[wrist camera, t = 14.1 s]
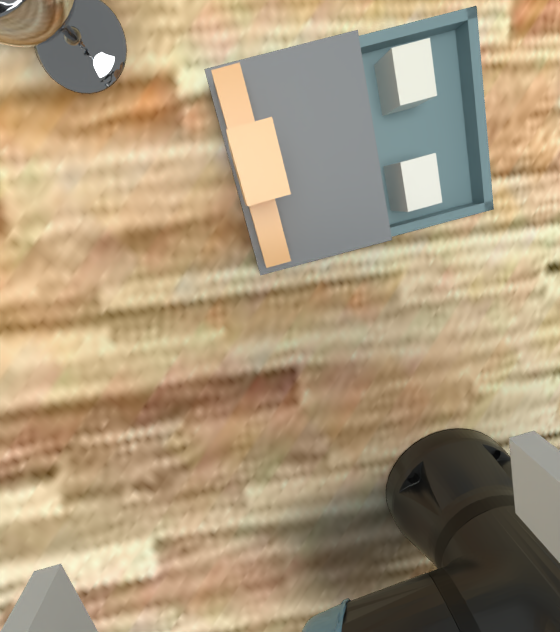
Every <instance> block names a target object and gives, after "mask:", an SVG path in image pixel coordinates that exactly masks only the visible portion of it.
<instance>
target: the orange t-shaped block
mask: <svg viewBox="0 0 560 632" xmlns="http://www.w3.org/2000/svg"><path fill="white" fill-rule="evenodd" d="M211 71H212V76H213V81H214V85H215V88H216V92H217V95H218V99H219V103H220V106H221V110H222V113H223V117H224V120H225V124H226V128H227V129H226V133H227V138H228V143H229V149H230V152H231V156H232V159H233V163H234V166H235V170H236V173H237V177H238V180H239V184H240V188H241V191H242V195H243V198H244V202H245V205H246V206H249V210H250V213H251V217H252V220H253V224H254V228H255V231H256V235H257V238H258V242H259V245H260V249H261V253H262V256H263V260H264V263H265V265H266V268H269V267H272V266H276V265H279V264H283V263H286V262H290V261H291V259H290V255H289V251H288V247H287V243H286V239H285V235H284V232H283V228H282V224H281V220H280V216H279V212H278V208H277V204H276V201H275V199H276V198H279V197H283V196H286V195H290V194H291V192H290V188H289V184H288V179H287V175H286V171H285V167H284V163H283V159H282V155H281V151H280V147H279V143H278V139H277V135H276V131H275V127H274V123H273V119H272V117H269V118H265V119H262V120H258V121H255V119H254V116H253V112H252V108H251V104H250V100H249V96H248V92H247V89H246V85H245V81H244V77H243V73H242V69H241V65H240V62H239V63H235V64H232V65H228V66H224V67H221V68H217V69H213V70H211Z"/></svg>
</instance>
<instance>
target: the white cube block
mask: <svg viewBox="0 0 560 632" xmlns="http://www.w3.org/2000/svg"><path fill="white" fill-rule="evenodd" d="M383 168H384V174H385V180H386V186H387V192H388V197H389V203H390V209H391V211H402V212H410V211H413V210H417V209H421V208H424V207H428V206H431V205H435V204H439V203H442V196H441V188H440V181H439V173H438V165H437V158H436V153H433V154H429V155H424V156H420V157H416V158H412V159H409V160H405V161H401V162H398V163H394V164H390V165H387V166H383Z"/></svg>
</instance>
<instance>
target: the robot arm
mask: <svg viewBox="0 0 560 632" xmlns="http://www.w3.org/2000/svg"><path fill="white" fill-rule="evenodd" d="M509 446H510V456H509V455H508V453H507V452H506V451H505V450H504V449H502V448H501V447H500V446H499V445H498V444H497V443H496V442H495V441H494V440H493V439H491V438H490V437H488V436H487V435H485V434H482V433H480V432H477V431H473V430H467V429H452V430H446V431H441V432H438V433H435V434H432V435H430V436H428V437H426V438H424V439H422V440H420V441H419V442H417V443H416V444H414V445H413V446H412V447H410V448H409V449H408V450H407V451H406V452H405V453H404V454H403V455H402V456H401V457H400V458H399V460H398V461H397V462H396V464H395V466H394V467H393V469H392V471H391V473H390V476H389V479H388V483H387V489H386V498H387V504H388V507H389V510H390V512H391V514H392V516H393V518H394V520H395V522H396V524H397V526H398V528H399V529H400V530H401V532H402V533H403V534H404V535H405V536H406V537H407V538H408V539H409V540H410V541H411V542H412V543H413V544H414V545H415V546H416V547H417V548H418V549H419V550H420V551H421V552H422V553H423V554H424V555H425V556H426V557H427V558H428V559H429V560H431V561H432V562H433V563H434V564H435V565H436V567H437V568H438V569H437V570H434V571H431V572H429V573H425V574H422V575H419V576H417V577H414V578H411V579H409V580H406V581H403V582H401V583H398V584H395V585H393V586H390V587H387V588H385V589H382V590H379V591H377V592H374V593H371V594H369V595H366V596H363V597H360V598H358V599H355V600H352V601H351V600H350V599H349V598H348V599H345V600H343V601H342V603H341V604H340V605H337V606H335V607H333V608H331V609H328V610H326V611H324V612H322V613H319V614H317V615H315V616H313V617H312V618H311V619H309V620H308V622H307V623H306V624H305V626H304V628H303V630H302V632H560V451H559V450H558V449H557V448H556V447H554V446H553V445H552V444H550V443H549V442H548V441H547V440H545V439H544V438H543V437H541V436H540V435H539V434H538V433H536V432H535V431H532V432H528V433H525V434H521V435H518V436H514V437H511V438H509ZM1 632H98V631H97V629H96V627H95V625H94V623H93V622H92V620H91V618H90V616H89V614H88V612H87V611H86V609H85V607H84V605H83V603H82V601H81V600H80V598H79V596H78V594H77V592H76V590H75V589H74V587H73V585H72V583H71V581H70V579H69V578H68V576H67V574H66V572H65V570H64V568H63V567H62V565H61V564H58V565H55V566H51V567H48V568H44V569H41V570H37V571H34V572H33V574H32V576H31V578H30V580H29V581H28V583H27V585H26V587H25V589H24V590H23V592H22V594H21V596H20V598H19V599H18V601H17V603H16V605H15V607H14V608H13V610H12V612H11V614H10V616H9V617H8V619H7V621H6V623H5V625H4V626H3V628H2V630H1Z"/></svg>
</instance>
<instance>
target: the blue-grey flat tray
mask: <svg viewBox="0 0 560 632" xmlns="http://www.w3.org/2000/svg"><path fill="white" fill-rule="evenodd" d="M427 38H430V43H431V51H432V59H433V67H434V75H435V83H436V91H437V96H435V97H434V98H432V99H430V100H428V101H426V102H424V103H422V104H420V105H418V106H416V107H414V108H410V109H407V110H403V111H399V112H396V113H392V114H388V115H384V116H382V110H381V104H380V98H379V92H378V86H377V80H376V74H375V67H374V65H375V64H376V63H377V62H378V61H379V60H380V59H381V58H382V57H383V56H384V55H385V54H386V53H387V52H388V51H389V50H390V49H391V48H393V47H397V46H401V45H404V44H408V43H412V42H416V41H419V40H423V39H427ZM359 41H360V47H361V53H362V60H363V66H364V72H365V78H366V84H367V90H368V96H369V102H370V108H371V114H372V121H373V127H374V133H375V139H376V145H377V151H378V157H379V163H380V169H381V175H382V182H383V188H384V194H385V200H386V206H387V212H388V218H389V224H390V230H391V236H396V235H400V234H404V233H407V232H411V231H415V230H418V229H422V228H426V227H430V226H433V225H437V224H441V223H444V222H448V221H452V220H456V219H459V218H463V217H467V216H470V215H474V214H478V213H482V212H485V211H489V210H493V209H494V208H493V196H492V185H491V173H490V161H489V149H488V137H487V126H486V114H485V102H484V90H483V78H482V66H481V55H480V43H479V31H478V19H477V7H476V6H474V7H470V8H466V9H462V10H458V11H454V12H450V13H447V14H443V15H439V16H435V17H431V18H427V19H423V20H419V21H415V22H411V23H408V24H404V25H400V26H396V27H392V28H388V29H384V30H380V31H376V32H373V33H369V34H365V35H361V36H359ZM433 153H436V158H437V165H438V173H439V181H440V188H441V196H442V203H439V204H435V205H431V206H428V207H424V208H421V209H417V210H413V211H410V212H402V211H391V209H390V203H389V197H388V192H387V186H386V180H385V174H384V168H383V166H387V165H390V164H394V163H398V162H401V161H405V160H409V159H412V158H416V157H420V156H424V155H429V154H433Z"/></svg>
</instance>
